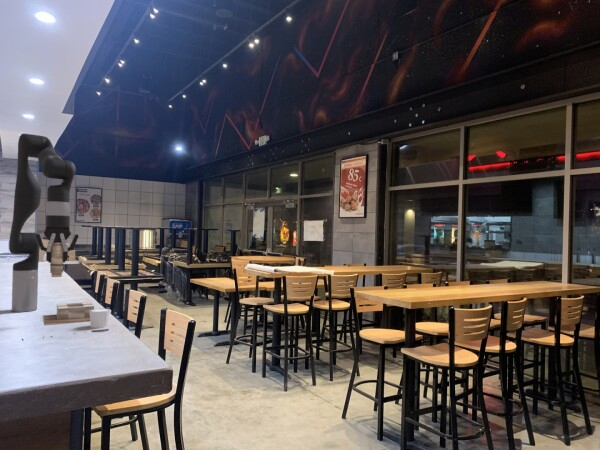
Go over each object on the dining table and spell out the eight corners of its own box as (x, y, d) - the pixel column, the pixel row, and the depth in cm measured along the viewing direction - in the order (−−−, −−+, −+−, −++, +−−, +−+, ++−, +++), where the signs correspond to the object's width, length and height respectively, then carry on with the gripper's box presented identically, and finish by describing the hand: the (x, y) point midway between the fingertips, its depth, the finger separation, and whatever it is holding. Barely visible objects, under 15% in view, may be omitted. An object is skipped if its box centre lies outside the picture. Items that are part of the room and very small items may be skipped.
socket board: (43, 319, 165) (43, 305, 165) (91, 315, 174) (92, 301, 174) (44, 329, 148) (44, 313, 148) (97, 324, 157) (98, 309, 157)
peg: (49, 276, 155) (50, 243, 155) (62, 275, 157) (63, 243, 157) (49, 277, 151) (50, 243, 151) (63, 277, 153) (64, 243, 154)
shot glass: (114, 328, 152) (115, 308, 152) (103, 333, 145) (104, 312, 145) (96, 327, 152) (96, 308, 152) (84, 332, 146) (85, 311, 146)
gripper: (79, 215, 161) (78, 261, 161) (34, 214, 154) (33, 262, 154) (81, 215, 155) (79, 262, 155) (34, 213, 147) (33, 263, 147)
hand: (56, 262), depth 154 cm, fingers closed on peg, 4 cm apart
